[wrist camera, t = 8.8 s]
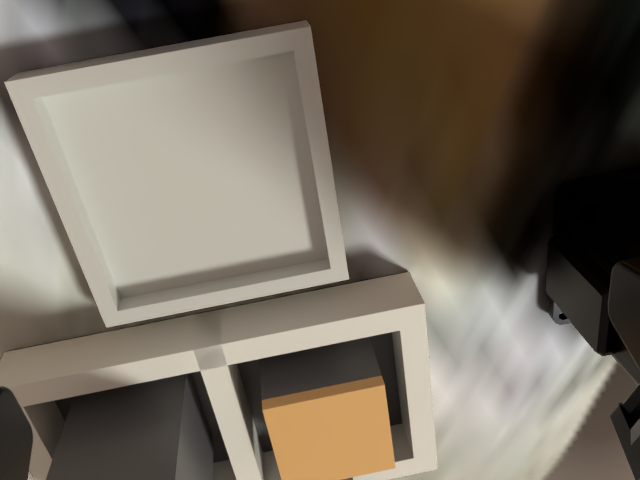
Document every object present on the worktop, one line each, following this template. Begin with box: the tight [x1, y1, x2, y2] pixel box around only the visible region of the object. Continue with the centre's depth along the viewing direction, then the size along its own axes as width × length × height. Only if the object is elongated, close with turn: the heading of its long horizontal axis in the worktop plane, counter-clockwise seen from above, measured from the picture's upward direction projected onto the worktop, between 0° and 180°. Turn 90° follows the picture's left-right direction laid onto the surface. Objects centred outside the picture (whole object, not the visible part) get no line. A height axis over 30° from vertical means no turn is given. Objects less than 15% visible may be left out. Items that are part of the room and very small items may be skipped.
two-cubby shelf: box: [0, 272, 438, 480], centre depth 24 cm, size 16×9×2 cm, turn 99°
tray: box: [4, 20, 349, 328], centre depth 20 cm, size 9×9×1 cm
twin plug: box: [259, 337, 396, 480], centre depth 26 cm, size 4×12×4 cm, turn 9°
